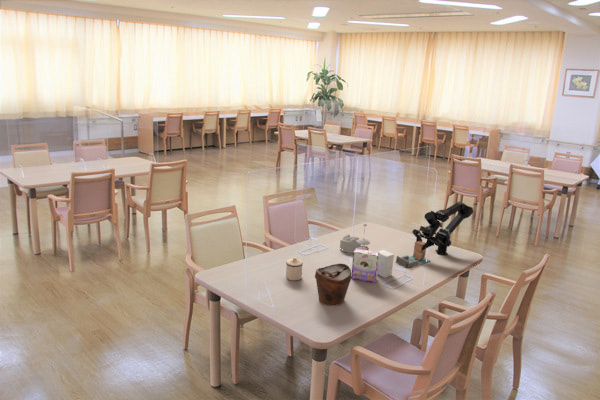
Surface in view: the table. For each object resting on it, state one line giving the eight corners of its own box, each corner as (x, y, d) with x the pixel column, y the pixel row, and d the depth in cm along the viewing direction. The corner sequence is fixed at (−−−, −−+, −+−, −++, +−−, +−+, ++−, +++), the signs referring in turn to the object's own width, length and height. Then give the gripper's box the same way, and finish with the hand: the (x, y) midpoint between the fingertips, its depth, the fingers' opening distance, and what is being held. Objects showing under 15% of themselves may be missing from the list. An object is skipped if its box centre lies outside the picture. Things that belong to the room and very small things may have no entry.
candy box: (377, 279, 277) (380, 251, 272) (375, 283, 271) (378, 255, 267) (353, 274, 281) (355, 247, 276) (350, 278, 276) (353, 251, 271)
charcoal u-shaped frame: (406, 258, 306) (407, 253, 305) (418, 264, 299) (419, 258, 298) (396, 262, 300) (396, 256, 299) (407, 267, 294) (408, 261, 292)
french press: (351, 264, 294) (354, 224, 286) (356, 257, 304) (360, 219, 297) (367, 267, 290) (371, 227, 283) (372, 260, 301) (376, 221, 293)
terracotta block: (418, 255, 309) (420, 240, 306) (424, 258, 305) (426, 243, 302) (412, 257, 306) (414, 242, 303) (419, 260, 302) (421, 245, 299)
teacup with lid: (304, 279, 271) (306, 259, 268) (290, 281, 267) (291, 262, 264) (294, 270, 281) (296, 251, 278) (280, 272, 277) (281, 253, 274)
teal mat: (416, 255, 313) (416, 254, 313) (430, 261, 305) (430, 260, 304) (406, 258, 307) (406, 257, 307) (420, 264, 299) (420, 264, 299)
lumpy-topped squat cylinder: (362, 251, 314) (363, 238, 312) (344, 253, 309) (345, 240, 306) (353, 245, 323) (354, 232, 321) (336, 247, 318) (337, 234, 315)
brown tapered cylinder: (307, 304, 244) (310, 271, 239) (320, 288, 262) (323, 257, 257) (341, 313, 238) (345, 280, 233) (352, 296, 256) (356, 264, 251)
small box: (391, 275, 282) (394, 254, 279) (384, 278, 278) (386, 256, 275) (381, 270, 288) (383, 249, 284) (373, 272, 284) (376, 251, 281)
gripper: (415, 216, 308) (401, 236, 305) (440, 226, 294) (425, 246, 291) (422, 226, 315) (408, 245, 312) (446, 236, 301) (432, 256, 298)
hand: (418, 248), depth 303 cm, fingers closed on terracotta block, 5 cm apart
